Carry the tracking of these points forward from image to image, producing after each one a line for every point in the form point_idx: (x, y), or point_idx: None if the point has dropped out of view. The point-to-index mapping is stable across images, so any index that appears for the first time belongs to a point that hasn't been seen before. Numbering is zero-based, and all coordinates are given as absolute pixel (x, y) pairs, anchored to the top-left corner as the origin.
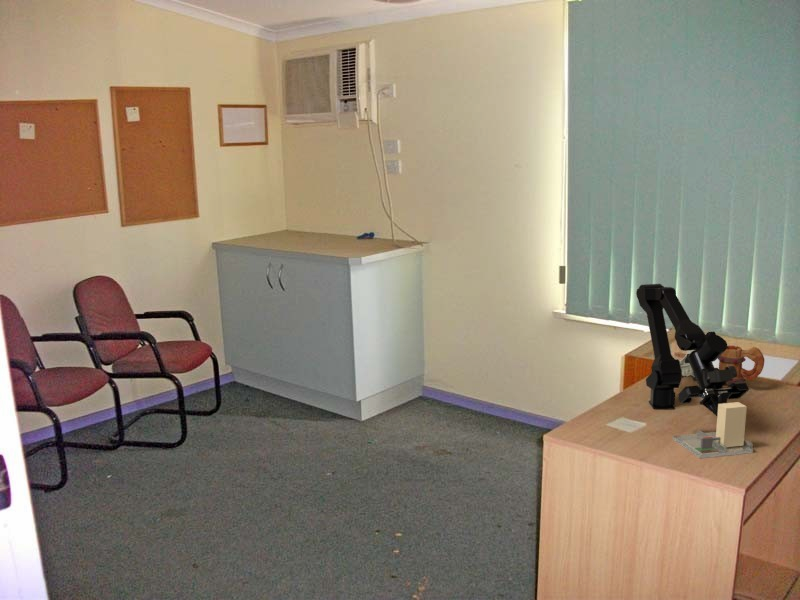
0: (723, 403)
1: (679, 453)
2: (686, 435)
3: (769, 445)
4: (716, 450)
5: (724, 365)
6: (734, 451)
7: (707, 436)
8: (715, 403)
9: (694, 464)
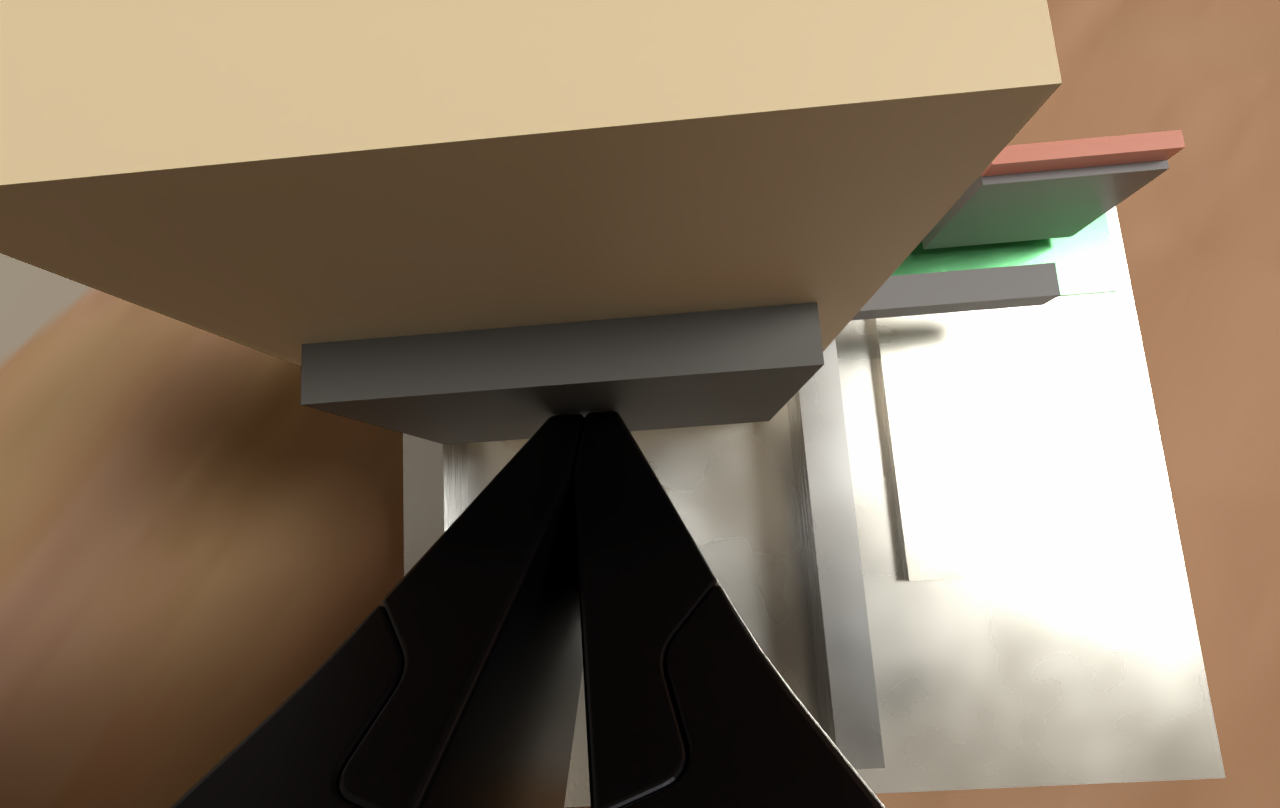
0: (735, 105)
1: (1263, 328)
2: (1017, 759)
3: (141, 378)
4: None
5: None
6: None
7: (1077, 156)
8: (794, 741)
9: (1204, 45)
